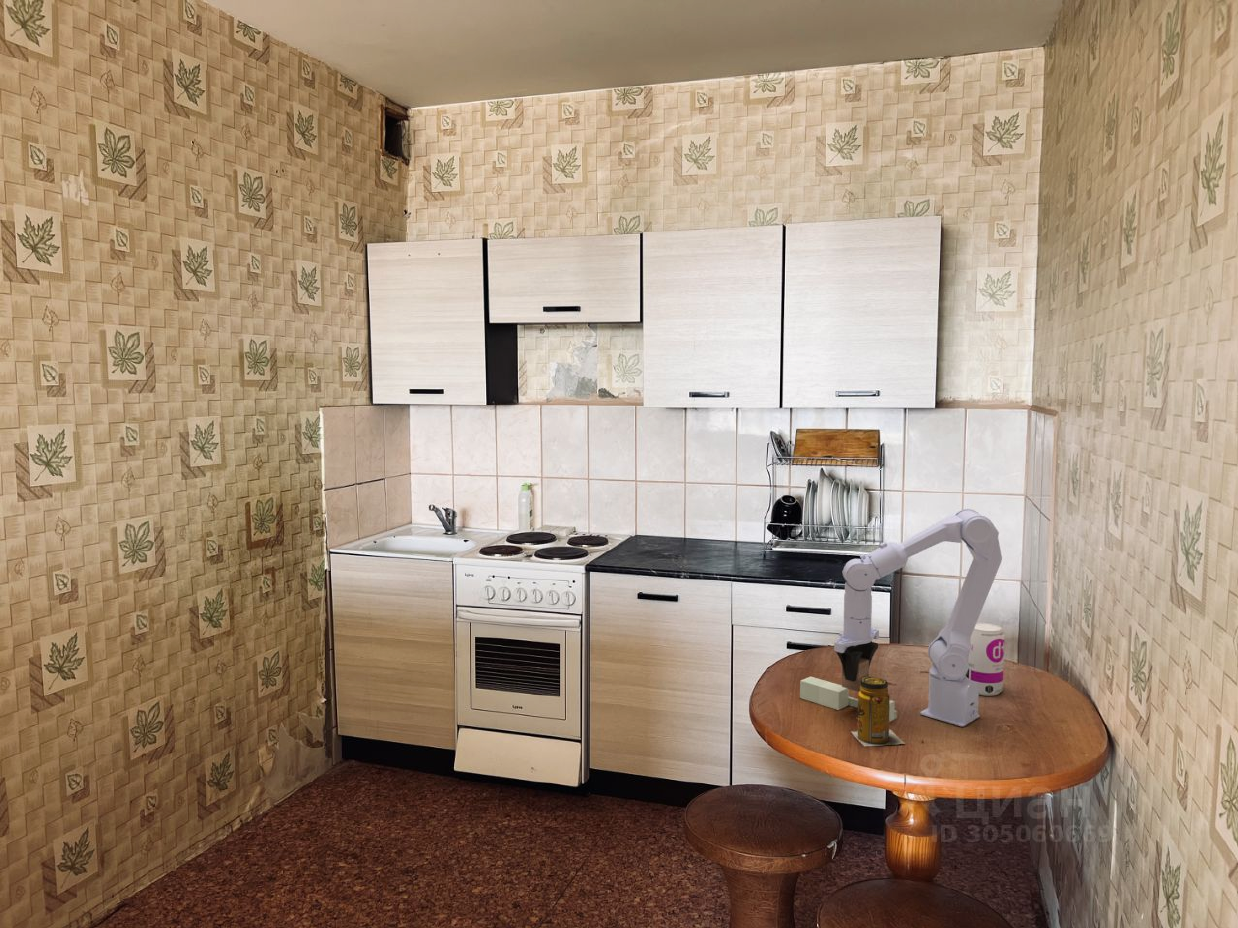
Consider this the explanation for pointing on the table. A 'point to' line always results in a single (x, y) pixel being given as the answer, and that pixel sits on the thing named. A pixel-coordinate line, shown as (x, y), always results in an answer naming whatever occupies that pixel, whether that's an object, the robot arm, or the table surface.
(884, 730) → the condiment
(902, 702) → the table surface
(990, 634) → the supplement can
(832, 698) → the sage bar
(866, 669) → the walnut key block
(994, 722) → the table surface
